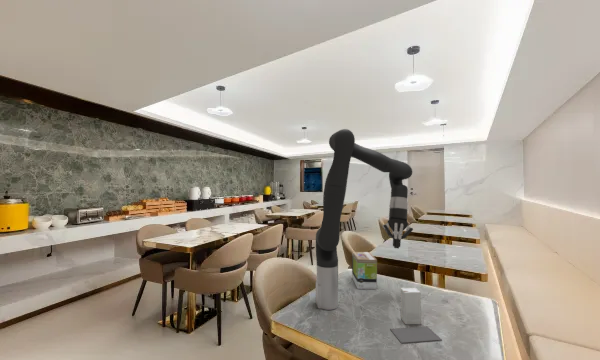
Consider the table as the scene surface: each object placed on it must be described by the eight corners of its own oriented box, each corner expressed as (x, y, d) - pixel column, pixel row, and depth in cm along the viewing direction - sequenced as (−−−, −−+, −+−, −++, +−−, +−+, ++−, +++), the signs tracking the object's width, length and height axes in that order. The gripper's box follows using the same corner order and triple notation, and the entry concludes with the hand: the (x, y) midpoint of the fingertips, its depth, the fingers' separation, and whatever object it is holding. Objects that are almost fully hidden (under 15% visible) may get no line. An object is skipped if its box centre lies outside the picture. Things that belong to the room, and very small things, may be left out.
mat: (401, 343, 83) (401, 342, 83) (390, 329, 91) (390, 328, 91) (441, 340, 84) (441, 339, 84) (427, 327, 92) (427, 326, 92)
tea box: (377, 289, 126) (377, 259, 126) (357, 289, 126) (356, 259, 126) (369, 278, 141) (369, 251, 141) (351, 278, 141) (351, 251, 141)
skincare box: (416, 318, 98) (416, 287, 98) (421, 325, 94) (421, 292, 94) (400, 318, 98) (399, 287, 98) (404, 325, 94) (404, 292, 94)
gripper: (385, 205, 111) (382, 246, 107) (417, 209, 109) (415, 250, 106) (381, 207, 118) (378, 245, 114) (410, 210, 117) (409, 249, 113)
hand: (396, 248), depth 110 cm, fingers closed
